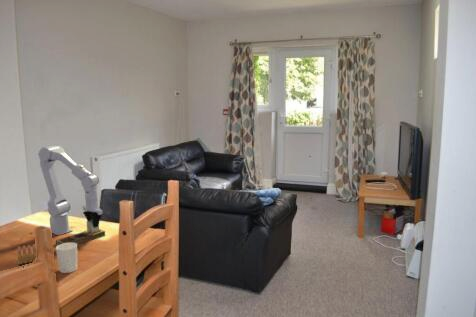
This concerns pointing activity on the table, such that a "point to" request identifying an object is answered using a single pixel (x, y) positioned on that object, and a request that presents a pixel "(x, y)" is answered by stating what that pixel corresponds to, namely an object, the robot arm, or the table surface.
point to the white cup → (67, 257)
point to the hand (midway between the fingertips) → (93, 225)
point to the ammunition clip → (25, 259)
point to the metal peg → (92, 227)
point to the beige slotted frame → (77, 237)
